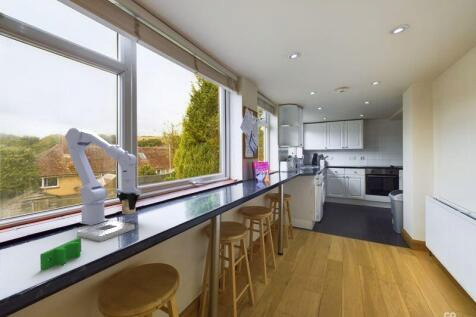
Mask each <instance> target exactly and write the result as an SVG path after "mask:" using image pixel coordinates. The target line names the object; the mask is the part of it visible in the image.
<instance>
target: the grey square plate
mask: <svg viewBox="0 0 476 317" xmlns="http://www.w3.org/2000/svg"><path fill="white" fill-rule="evenodd" d="M133 230H135V224H134V223H129V222H122V221H116V220H108V221H105V222H102V223H98V224H95V225H91V226H90V227H86V228H83V229H79V230H77V231H76V237H77V238H81V239H82V238H83V239H88V240H91V241H95V242H100V243H101V242H103V241H106V240H109V239H112V238H114V237H117V236H119V235H123V234H125V233H128V232H131V231H133Z"/></svg>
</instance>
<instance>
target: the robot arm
mask: <svg viewBox="0 0 476 317" xmlns="http://www.w3.org/2000/svg"><path fill="white" fill-rule="evenodd" d="M65 140H66V142H67V151H68V154H69V156H70V158H71V160H72V163H73V165H74V168H75V170H76V172H77V175H78V177H79V179H80V181H81V184H82V187H81V188H80V190H79V191H80V200H81V201H82V203H83V205H82V207H81V216H80V217H81V221H82V222H81V221H79V222H80V223H79V224H82V225H89V226H95V225H99V224H102V223H106V222H109V221H110V219H109V218H105V217H106V216H105V215H106V214H105V201H106V199H107V198H108V190H107V189H106V188H105V187H104V186H103V184H102V183H101V182H99V181H98V180H97V178H96V176H95V174H94V172H93V169H92V166H91V164H90V162H89V159H88V157H87V156H86V152H85V150H86V149H87V148H88V147H89V146H90V145H91V144H94V145H95V146H97V147H99V148H100V149H102V150H104V151H105V153H106V155H107V156H109V158H112V159H113V160H115V161H116V162H118V165H119V166H120V180H121V184H120V187H121V188H120V187H119V188H116V189H115V193H116V194H117V195H116V196H117V198H118V199H119V201H120V204H121V205H122V200H127V199H128V202H129V209H130V210H134V209H135V206H136V205H137V202H138V200H139V197H140V196H141V195H142V189H138V188H136V165H137V163H138V157H137V156H136V155H135V154H133V153H129V151H128V150H124V149H123V148H121V145H119V144H110V143H109V142H108V141H106V140H104V139H103V138H102V137H101V136H99V135H98V134H97V133H96V132H93V131H91V130H90V129H89V130H88V129H87V130H86V129H80V128H76V127H71V128H69V129H68V130H67V132H66V134H65Z"/></svg>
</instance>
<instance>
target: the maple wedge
mask: <svg viewBox="0 0 476 317" xmlns="http://www.w3.org/2000/svg"><path fill="white" fill-rule="evenodd" d="M136 209H137V208H136V206H135V209H134V210H130V209H129V202H128V199H127V200H122V204H121V214H122V215H132V214H134V213H137V211H136Z"/></svg>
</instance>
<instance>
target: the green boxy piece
mask: <svg viewBox="0 0 476 317" xmlns="http://www.w3.org/2000/svg"><path fill="white" fill-rule="evenodd" d="M81 252H82V237H76V238H74V239H72V240H70V241H68V242H64V243H63V244H60V245H58V246H56V247H53V248H51V249H49V250H47V251H44V252H42V253H40V255H39V257H40V260H39V261H40V263H39V264H40V271H41V270H45V271H46V269H47V270H48V269H50V268H52V267H54V266H65V265H67V261H69V260H71V259H76V258H80V257H81ZM64 264H65V265H64Z"/></svg>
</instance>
